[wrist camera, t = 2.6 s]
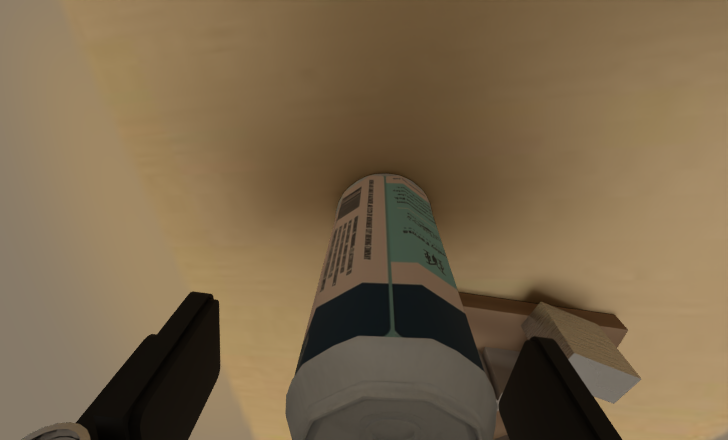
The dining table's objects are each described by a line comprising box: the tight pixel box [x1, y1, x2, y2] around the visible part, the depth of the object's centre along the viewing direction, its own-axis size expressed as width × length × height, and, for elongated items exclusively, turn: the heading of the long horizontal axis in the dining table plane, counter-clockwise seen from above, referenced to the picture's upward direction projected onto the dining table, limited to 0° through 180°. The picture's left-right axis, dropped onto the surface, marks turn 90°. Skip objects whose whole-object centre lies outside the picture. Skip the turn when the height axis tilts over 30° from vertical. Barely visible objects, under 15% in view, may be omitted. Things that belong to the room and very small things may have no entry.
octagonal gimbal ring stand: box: [458, 292, 628, 440], centre depth 21 cm, size 14×11×4 cm
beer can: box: [286, 173, 497, 440], centre depth 13 cm, size 5×5×12 cm
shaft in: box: [521, 302, 641, 404], centre depth 18 cm, size 3×4×4 cm
